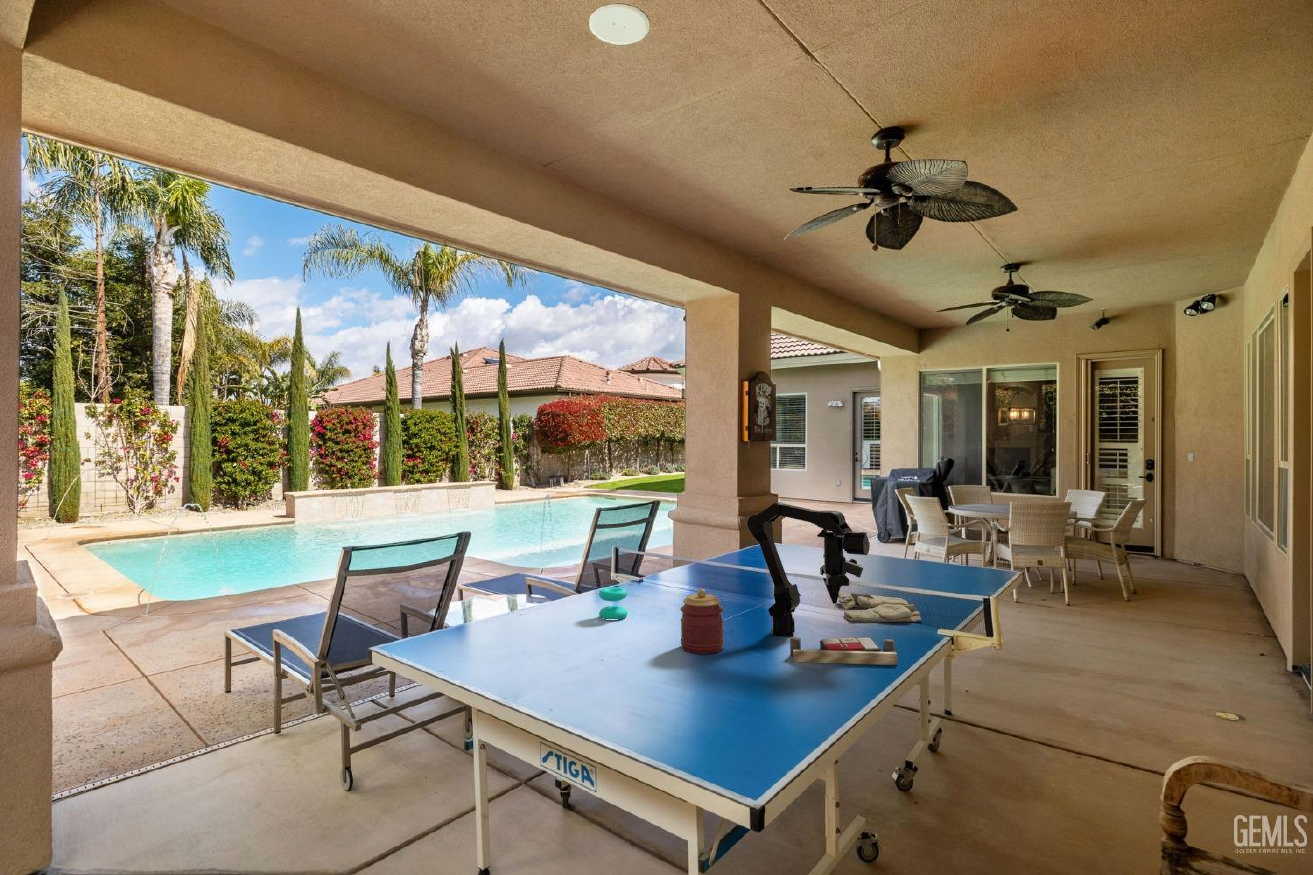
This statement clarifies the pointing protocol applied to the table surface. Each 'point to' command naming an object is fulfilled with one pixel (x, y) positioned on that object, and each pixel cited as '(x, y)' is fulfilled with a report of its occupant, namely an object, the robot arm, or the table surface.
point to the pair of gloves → (878, 608)
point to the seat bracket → (844, 654)
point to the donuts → (613, 595)
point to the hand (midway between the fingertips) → (834, 603)
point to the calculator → (849, 644)
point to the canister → (702, 624)
